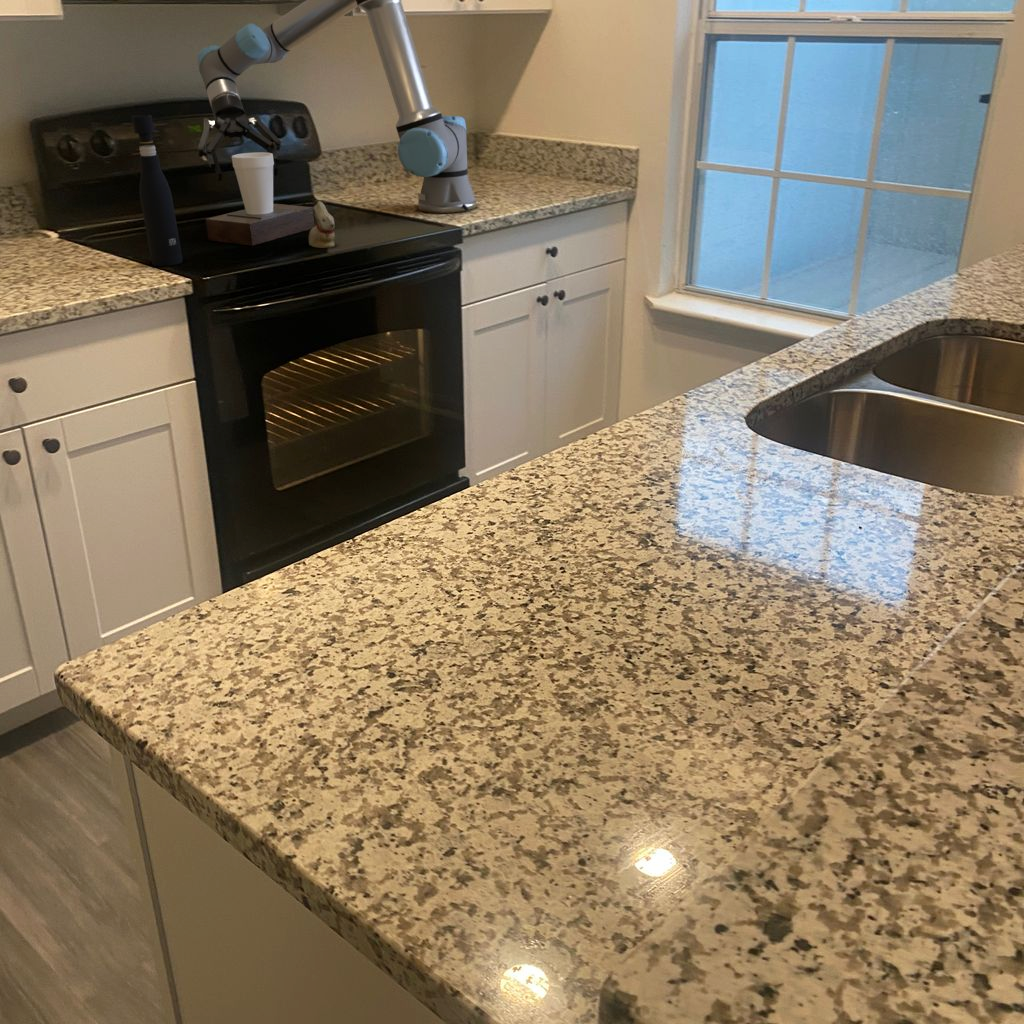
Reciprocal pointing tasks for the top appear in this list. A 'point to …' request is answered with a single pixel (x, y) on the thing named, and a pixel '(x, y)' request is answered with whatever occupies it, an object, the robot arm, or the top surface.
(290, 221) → the slotted wooden box
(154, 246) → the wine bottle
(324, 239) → the chocolate bunny
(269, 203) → the foam cup
